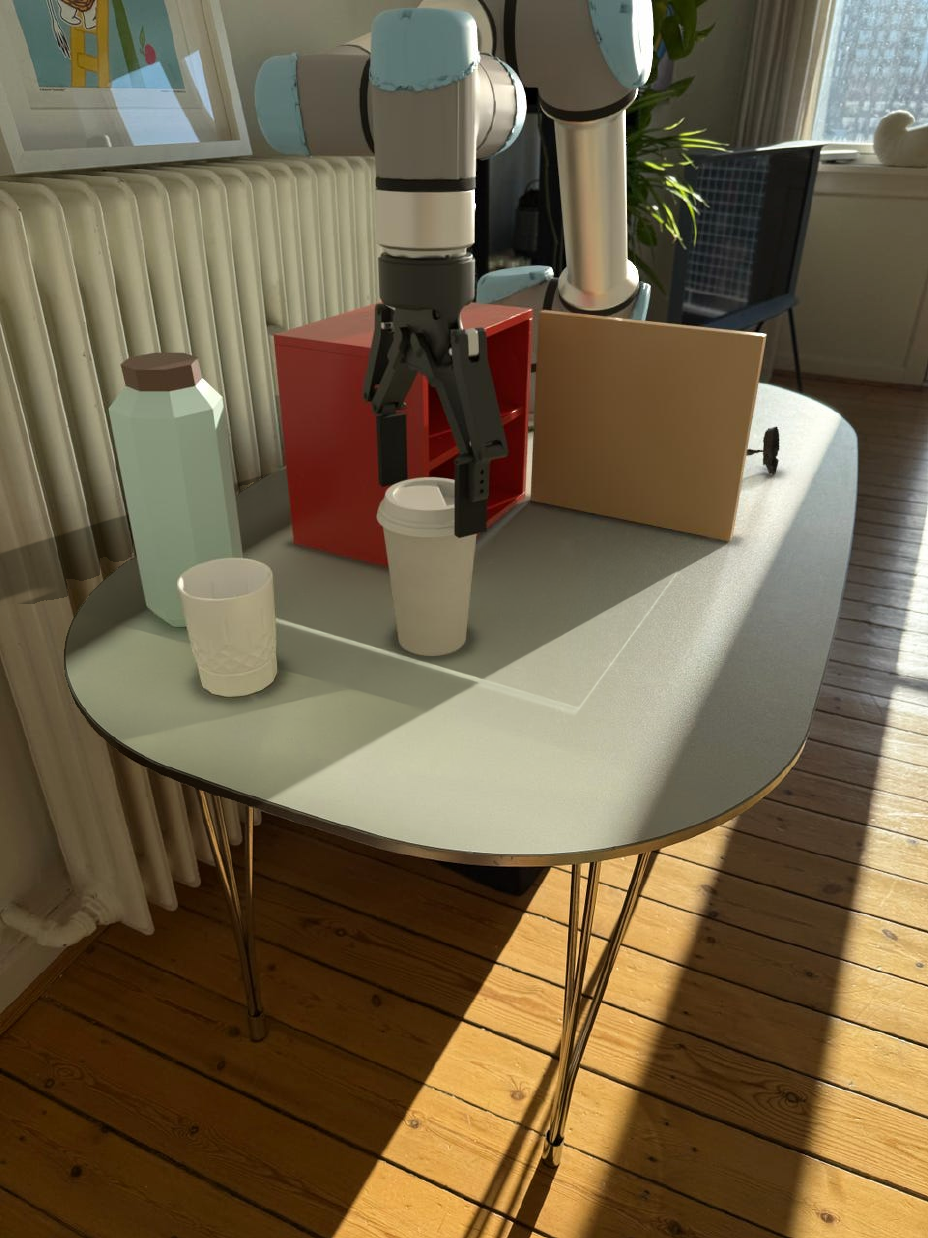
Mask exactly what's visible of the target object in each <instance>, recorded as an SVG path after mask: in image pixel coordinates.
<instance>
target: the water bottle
mask: <svg viewBox="0 0 928 1238" xmlns="http://www.w3.org/2000/svg"><path fill="white" fill-rule="evenodd" d="M120 368H121V373H122V378H123V382H124V385H125V386H124V387H123V389H122V390H121V391H120V392H119V393H118V395H117V396H116V398H115V399H114V400H113V402H112V403H111V404H110V406H109V407H108V414H109V419H110V424H111V431H112V435H113V440H114V441H113V442H114V446H115V451H116V457H117V460H118V465H119V466H118V467H119V471H120V476H121V482H122V487H123V491H124V497H125V502H126V507H127V513H128V518H129V523H130V528H131V534H132V539H133V543H134V550H135V554H136V559H137V565H138V570H139V575H140V580H141V586H142V589H143V596H144V601H145V605H146V607H147V609H149V611H151V612H152V613H154V615H155V616H157V617H158V618H159V619H161V620H163V621H164V622H165V623H167V624H169V625H170V626H171V627H174V628H187V626H186V622H185V618H184V614H183V609H182V605H181V600H180V596H179V592H178V587H177V581H178V579H179V577H180V576H181V575H182V574H183V573H184V572H185V571H186V570H188V569H190V568H191V567H193V566H196V565H198V564H201V563H204V562H207V561H211V560H216V559H223V558H244V555H243V546H242V537H241V531H240V523H239V516H238V509H237V508H238V507H237V500H236V492H235V483H234V477H233V468H232V461H231V454H230V453H231V452H230V445H229V438H228V430H227V422H226V421H227V420H226V415H225V406H224V398H223V396H222V395H221V394H220V393H219V392H218V391H216V389H215V388H213V386H211V385H210V384H209V383H208V382H207V381H206V380H205V379H204V378H203V374H202V369H201V363H200V358H199V357H198V356H196V355H192V354H189V353H186V352H151V353H147V354H146V353H145V354H140V355H136V356H129V357H127V359H125V360H124V361H123V362H121V363H120Z"/></svg>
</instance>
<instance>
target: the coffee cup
mask: <svg viewBox="0 0 928 1238" xmlns="http://www.w3.org/2000/svg"><path fill="white" fill-rule="evenodd" d="M454 485H455V480H452V479H447V478H435V477H426V478H415V479H409V480H405V481H401V482H399V483H396V484H394V485H392V486H391V487H389V488H388V489H387V491H386V493H385V497H384V499H383V500H382V501H381V503H380V506H379V508H378V512H377V520H378V522H379V523H380V524H381V525H382V526H383V530H384V537H385V544H386V551H387V558H388V565H389V567H388V572H389V579H390V586H391V594H392V601H393V602H392V603H393V608H394V609H393V610H394V616H395V623H396V632H397V638H398V643H399V645H400V646H401V647H402V648H403V649H404V650H405V651H407V652H410V653H412V654H415V655H419V656H425V657H426V656H427V657H437V656H443V655H448V654H451V653H454V652H456V651H458V650H460V649H462V647H463V646H464V645H465V643H466V640H467V630H468V622H469V610H470V602H471V590H472V583H473V572H474V561H475V553H476V543H477V537H476V535H477V534H474V535H470V536H466V537H462V538H458V537H457V536H455V535H454Z"/></svg>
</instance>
